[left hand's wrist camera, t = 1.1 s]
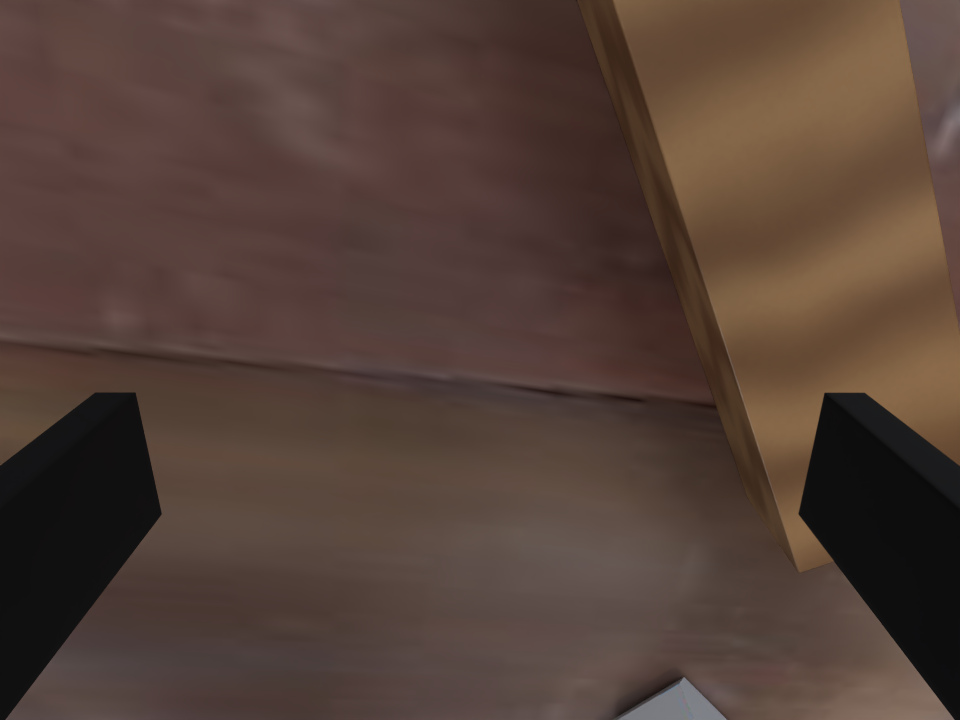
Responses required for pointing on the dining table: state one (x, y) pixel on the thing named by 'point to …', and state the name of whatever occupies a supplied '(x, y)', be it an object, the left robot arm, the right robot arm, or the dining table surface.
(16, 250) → the dining table surface
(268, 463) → the dining table surface
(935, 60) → the dining table surface
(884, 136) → the wide beam
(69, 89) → the dining table surface
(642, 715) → the electronic device
